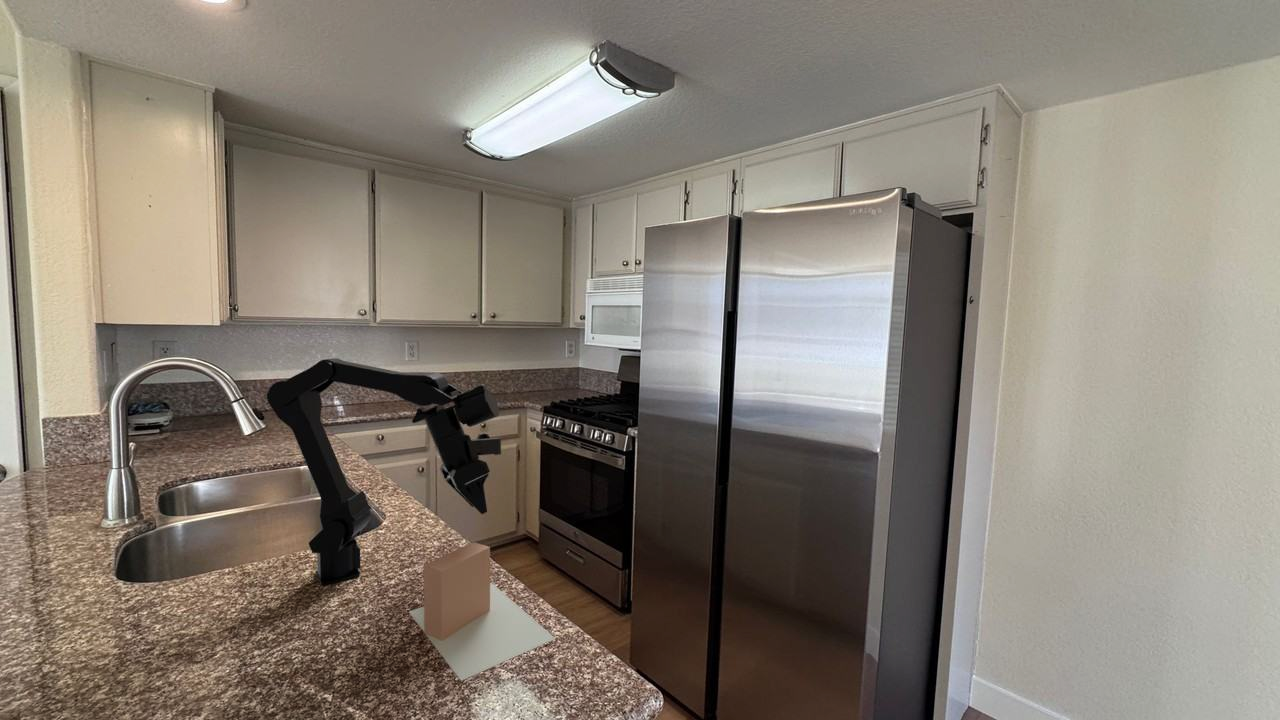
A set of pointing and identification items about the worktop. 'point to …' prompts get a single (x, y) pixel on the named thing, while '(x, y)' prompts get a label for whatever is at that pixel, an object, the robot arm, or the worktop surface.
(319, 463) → the robot arm
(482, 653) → the rubber mat
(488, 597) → the terracotta slab
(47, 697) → the worktop surface
